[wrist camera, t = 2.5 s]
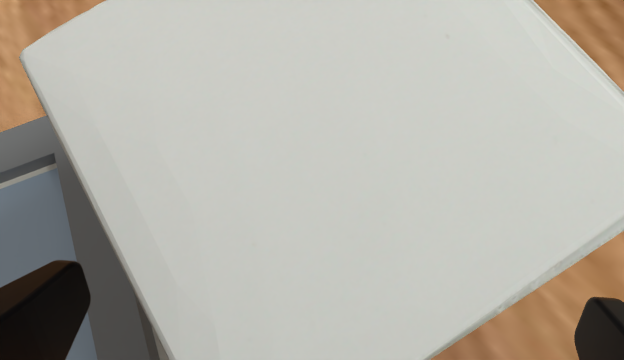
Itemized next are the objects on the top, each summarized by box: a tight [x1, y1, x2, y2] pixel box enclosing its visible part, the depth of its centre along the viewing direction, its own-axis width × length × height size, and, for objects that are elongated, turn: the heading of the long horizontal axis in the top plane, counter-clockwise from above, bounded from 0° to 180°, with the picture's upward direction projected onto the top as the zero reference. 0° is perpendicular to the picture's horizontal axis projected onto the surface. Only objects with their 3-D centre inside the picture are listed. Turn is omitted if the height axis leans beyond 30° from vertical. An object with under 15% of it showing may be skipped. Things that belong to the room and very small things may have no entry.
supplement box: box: [19, 0, 624, 360], centre depth 12 cm, size 7×7×13 cm
